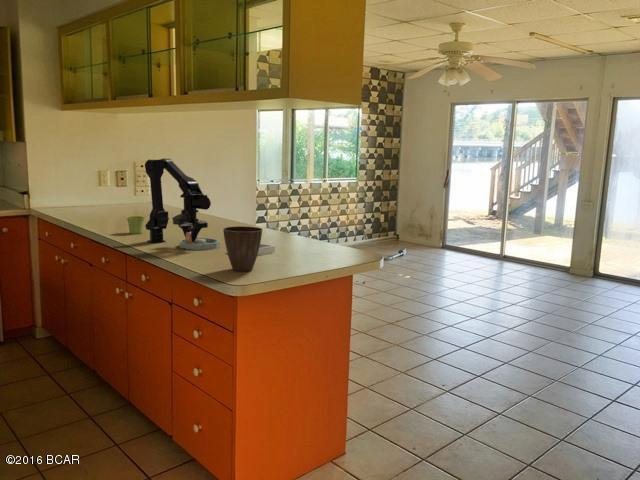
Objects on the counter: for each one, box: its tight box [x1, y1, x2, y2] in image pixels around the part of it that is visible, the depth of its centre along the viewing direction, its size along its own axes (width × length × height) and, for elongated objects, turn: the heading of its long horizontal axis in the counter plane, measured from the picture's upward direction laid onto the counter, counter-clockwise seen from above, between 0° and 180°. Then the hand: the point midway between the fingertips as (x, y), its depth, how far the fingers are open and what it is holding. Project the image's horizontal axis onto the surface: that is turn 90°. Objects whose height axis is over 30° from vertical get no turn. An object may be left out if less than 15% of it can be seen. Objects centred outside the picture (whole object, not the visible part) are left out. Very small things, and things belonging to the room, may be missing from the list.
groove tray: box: [179, 237, 221, 251], centre depth 252 cm, size 18×18×3 cm
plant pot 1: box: [125, 215, 145, 235], centre depth 283 cm, size 9×9×9 cm
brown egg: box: [185, 232, 195, 244], centre depth 248 cm, size 4×4×5 cm
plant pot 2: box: [222, 225, 263, 272], centre depth 206 cm, size 15×15×16 cm
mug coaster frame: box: [257, 242, 276, 257], centre depth 242 cm, size 14×16×3 cm
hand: (190, 241), depth 248 cm, fingers closed on brown egg, 4 cm apart
